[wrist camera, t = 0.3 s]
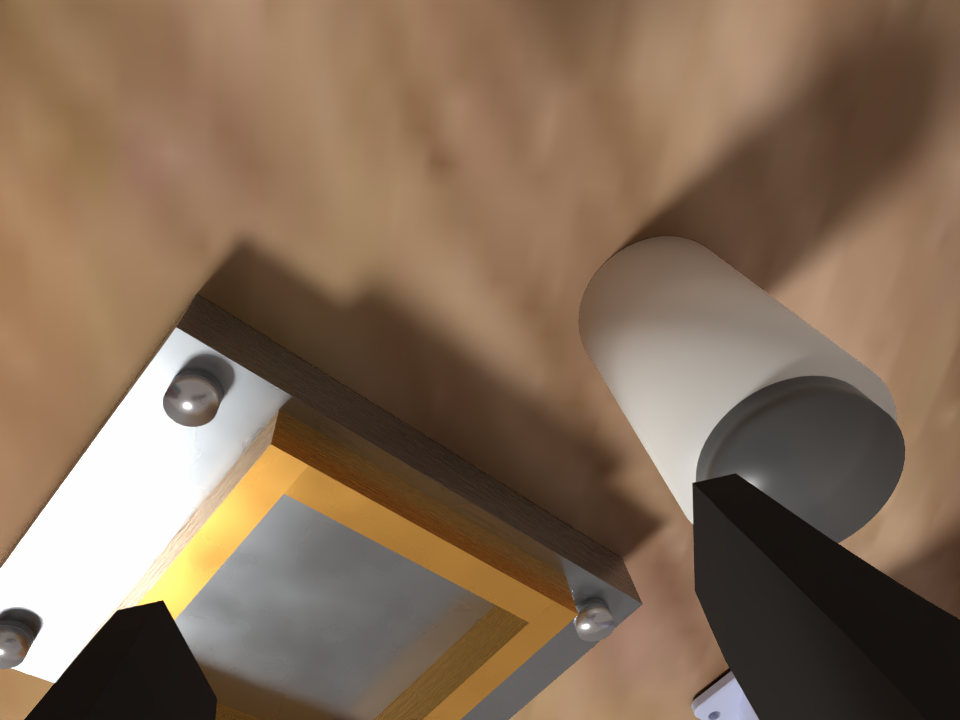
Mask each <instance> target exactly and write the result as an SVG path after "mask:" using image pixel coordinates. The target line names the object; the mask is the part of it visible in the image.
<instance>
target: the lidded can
mask: <svg viewBox="0 0 960 720" xmlns="http://www.w3.org/2000/svg"><path fill="white" fill-rule="evenodd" d="M578 322H579V332H580V337H581V340H582V343H583V346H584V348H585V350H586V351H587V353H588V355H589V356H590V358H591V360H592V361H593V363H594V365H595V366H596V368H597V370H598V371H599V373H600V375H601V376H602V378H603V380H604V381H605V383H606V385H607V386H608V388H609V390H610V391H611V393H612V394H613V396H614V398H615V399H616V401H617V403H618V404H619V406H620V408H621V409H622V411H623V413H624V414H625V416H626V418H627V419H628V421H629V423H630V424H631V426H632V428H633V429H634V431H635V433H636V434H637V436H638V437H639V439H640V441H641V442H642V444H643V446H644V447H645V449H646V451H647V452H648V454H649V456H650V457H651V459H652V461H653V462H654V464H655V466H656V467H657V469H658V471H659V472H660V474H661V476H662V477H663V479H664V480H665V482H666V484H667V485H668V487H669V489H670V490H671V492H672V494H673V495H674V497H675V499H676V500H677V502H678V504H679V505H680V507H681V509H682V510H683V512H684V514H685V515H686V517H687V518H688V519H689V520H690V522H691V523H692V524H693V490H692V483H694V482H699V481H703V480H708V479H712V478H717V477H721V476H726V475H730V474H735V473H736V474H738V475H739V476H741V477H742V478H743V479H745V480H746V481H748V482H749V483H751V484H752V485H754V486H755V487H757V488H758V489H759V490H761V491H762V492H764V493H765V494H767V495H768V496H770V497H771V498H772V499H774V500H775V501H777V502H778V503H780V504H781V505H782V506H784V507H785V508H787V509H788V510H790V511H791V512H793V513H794V514H795V515H797V516H798V517H800V518H801V519H803V520H804V521H806V522H807V523H808V524H810V525H811V526H813V527H814V528H816V529H817V530H819V531H820V532H822V533H823V534H825V535H826V536H827V537H829V538H830V539H832V540H833V541H835V542H836V543H839V542H841V541H843V540H844V539H846V538H847V537H849V536H851V535H852V534H854V533H855V532H856V531H858V530H859V529H860V528H862V527H863V526H864V525H865V524H866V523H868V522H869V521H870V520H871V519H872V518H873V517H874V516H875V515H876V514H877V513H878V512H879V511H880V510H881V508H882V507H883V506H884V504H885V503H886V502H887V501H888V499H889V498H890V496H891V494H892V493H893V491H894V490H895V487H896V485H897V483H898V481H899V479H900V476H901V473H902V470H903V465H904V460H905V445H904V439H903V436H902V433H901V430H900V428H899V426H898V425H897V417H896V409H895V404H894V401H893V398H892V395H891V393H890V392H889V390H888V388H887V386H886V385H885V384H884V382H883V381H882V380H881V379H880V378H879V377H878V376H877V375H876V374H875V373H874V372H872V371H871V370H870V369H869V368H867V367H866V366H865V365H863V364H862V363H861V362H859V361H858V360H857V359H855V358H854V357H853V356H851V355H850V354H849V353H847V352H846V351H844V350H843V349H842V348H840V347H839V346H838V345H836V344H835V343H834V342H832V341H831V340H830V339H828V338H827V337H826V336H824V335H823V334H822V333H820V332H819V331H818V330H816V329H815V328H814V327H812V326H811V325H810V324H808V323H807V322H806V321H804V320H803V319H802V318H800V317H799V316H797V315H796V314H795V313H793V312H792V311H791V310H789V309H788V308H787V307H785V306H784V305H783V304H781V303H780V302H779V301H777V300H776V299H775V298H773V297H772V296H771V295H769V294H768V293H767V292H765V291H764V290H763V289H761V288H760V287H759V286H757V285H756V284H755V283H753V282H752V281H751V280H749V279H748V278H746V277H745V276H744V275H742V274H741V273H740V272H738V271H737V270H736V269H734V268H733V267H732V266H730V265H729V264H728V263H726V262H725V261H724V260H722V259H721V258H720V257H718V256H717V255H716V254H714V253H713V252H712V251H710V250H709V249H708V248H706V247H705V246H703V245H701V244H699V243H698V242H695V241H693V240H690V239H686V238H682V237H675V236H660V237H654V238H648V239H645V240H642V241H639V242H636V243H634V244H632V245H629V246H627V247H626V248H624V249H622V250H621V251H619V252H618V253H616V254H615V255H614V256H612V257H611V258H610V259H609V260H608V261H607V262H606V263H604V264H603V265H602V266H601V268H600V269H599V270H598V271H597V272H596V274H595V275H594V276H593V278H592V280H591V281H590V283H589V284H588V286H587V288H586V291H585V293H584V295H583V298H582V301H581V305H580V310H579V321H578Z"/></svg>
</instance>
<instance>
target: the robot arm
mask: <svg viewBox="0 0 960 720" xmlns="http://www.w3.org/2000/svg"><path fill="white" fill-rule="evenodd" d="M692 490H693V532H694V573H695V592H696V594H697V596H698V599H699V601H700V603H701V606H702V608H703V610H704V613H705V615H706V618H707V620H708V622H709V625H710V627H711V629H712V632H713V634H714V636H715V638H716V640H717V643H718V645H719V647H720V649H721V652H722V654H723V656H724V658H725V661H726V662H727V664H728V666H729V668H730V669H731V671H730V672H729V673H728V674H726V675H725V676H724V677H723V678H721V679H720V680H719V681H718V682H716V683H715V684H714V685H712V686H711V687H710V688H709V689H707V690H706V691H705V692H704V693H702V694H701V695H700V696H698V697H697V698H696V699H695V700H694V701H693V702H692V705H691V707H692V710H693V712H694V715H695V716H696V717H697V718H699V719H701V720H960V620H959V619H958V618H956V617H954V616H953V615H951V614H949V613H947V612H946V611H944V610H942V609H941V608H939V607H937V606H935V605H934V604H932V603H930V602H929V601H927V600H925V599H924V598H922V597H920V596H919V595H917V594H915V593H914V592H912V591H911V590H909V589H907V588H906V587H904V586H903V585H901V584H899V583H898V582H896V581H895V580H893V579H892V578H890V577H888V576H887V575H885V574H884V573H882V572H881V571H879V570H878V569H876V568H875V567H873V566H871V565H870V564H868V563H867V562H865V561H864V560H862V559H861V558H859V557H858V556H856V555H854V554H853V553H851V552H850V551H848V550H847V549H845V548H844V547H842V546H841V545H839V544H838V543H836V542H835V541H833V540H832V539H830V538H829V537H827V536H826V535H825V534H823V533H822V532H820V531H819V530H817V529H816V528H814V527H813V526H811V525H810V524H808V523H807V522H806V521H804V520H803V519H801V518H800V517H798V516H797V515H795V514H794V513H793V512H791V511H790V510H788V509H787V508H785V507H784V506H782V505H781V504H780V503H778V502H777V501H775V500H774V499H772V498H771V497H770V496H768V495H767V494H765V493H764V492H762V491H761V490H759V489H758V488H757V487H755V486H754V485H752V484H751V483H749V482H748V481H746V480H745V479H743V478H742V477H741V476H739V475H738V474H736V473H735V474H730V475H726V476H721V477H717V478H712V479H708V480H703V481H699V482H694V483H692ZM216 708H217V697H216V695H215V694H214V692H213V690H212V688H211V686H210V685H209V683H208V681H207V679H206V677H205V675H204V674H203V672H202V670H201V668H200V666H199V664H198V663H197V661H196V659H195V657H194V655H193V654H192V652H191V650H190V648H189V646H188V644H187V643H186V641H185V639H184V637H183V635H182V634H181V632H180V630H179V628H178V626H177V624H176V623H175V621H174V619H173V617H172V615H171V613H170V612H169V610H168V608H167V606H166V604H165V603H164V601H163V600H161V601H157V602H152V603H148V604H143V605H139V606H134V607H129V608H125V609H120V610H117V611H116V612H115V613H114V614H113V615H112V617H111V618H110V619H109V620H108V621H107V622H106V623H105V624H104V625H103V627H102V628H101V629H100V630H99V631H98V632H97V634H96V635H95V636H94V637H93V638H92V639H91V641H90V642H89V643H88V644H87V645H86V646H85V648H84V649H83V650H82V651H81V652H80V654H79V655H78V656H77V657H76V658H75V660H74V661H73V662H72V663H71V664H70V666H69V667H68V668H67V669H66V670H65V672H64V673H63V674H62V675H61V676H60V678H59V679H58V680H57V681H56V682H55V684H54V685H53V686H52V687H51V688H50V690H49V691H48V692H47V693H46V694H45V696H44V697H43V698H42V699H41V700H40V702H39V703H38V704H37V705H36V706H35V708H34V709H33V710H32V711H31V712H30V714H29V715H28V716H27V717H26V718H25V719H24V720H215V719H216Z"/></svg>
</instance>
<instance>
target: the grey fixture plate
mask: <svg viewBox="0 0 960 720" xmlns="http://www.w3.org/2000/svg"><path fill="white" fill-rule="evenodd" d="M161 600H163V601H164V603H165V604H166V606H167V608H168V610H169V612H170V613H171V615H172V617H173V619H174V621H175V623H176V624H177V626H178V628H179V630H180V632H181V634H182V635H183V637H184V639H185V641H186V643H187V644H188V646H189V648H190V650H191V652H192V654H193V655H194V657H195V659H196V661H197V663H198V664H199V666H200V668H201V670H202V672H203V674H204V675H205V677H206V679H207V681H208V683H209V685H210V686H211V688H212V690H213V692H214V694H215V695H216V697H217V708H216V719H215V720H509V719H510V718H511V717H512V716H513V715H515V714H516V713H517V712H518V711H519V710H520V709H521V708H523V707H524V706H525V705H526V704H527V703H528V702H530V701H531V700H532V699H533V698H534V697H535V696H537V695H538V694H539V693H540V692H541V691H542V690H544V689H545V688H546V687H547V686H548V685H549V684H550V683H552V682H553V681H554V680H555V679H556V678H557V677H559V676H560V675H561V674H562V673H563V672H564V671H566V670H567V669H568V668H569V667H570V666H571V665H573V664H574V663H575V662H576V661H577V660H578V659H579V658H581V657H582V656H583V655H584V654H585V653H586V652H588V651H589V650H590V649H591V648H592V647H593V646H595V645H596V644H597V643H598V642H599V641H600V640H602V639H604V638H606V637H607V636H609V635H610V634H611V633H612V631H613V630H614V628H615V627H617V626H618V625H619V624H620V623H621V622H622V621H624V620H625V619H626V618H627V617H628V616H629V615H631V614H632V613H633V612H634V611H635V610H636V609H638V608H639V607H640V606H641V605H642V602H641V600H640V597H639V595H638V593H637V591H636V588H635V586H634V584H633V582H632V579H631V577H630V575H629V573H628V570H627V568H626V566H625V564H624V561H623V559H622V558H620V557H618V556H617V555H615V554H614V553H612V552H610V551H609V550H607V549H606V548H604V547H602V546H601V545H599V544H597V543H596V542H594V541H593V540H591V539H589V538H588V537H586V536H585V535H583V534H581V533H580V532H578V531H577V530H575V529H573V528H572V527H570V526H569V525H567V524H565V523H564V522H562V521H561V520H559V519H557V518H556V517H554V516H553V515H551V514H549V513H548V512H546V511H544V510H543V509H541V508H540V507H538V506H536V505H535V504H533V503H532V502H530V501H528V500H527V499H525V498H524V497H522V496H520V495H519V494H517V493H516V492H514V491H512V490H511V489H509V488H508V487H506V486H504V485H503V484H501V483H500V482H498V481H496V480H495V479H493V478H491V477H490V476H488V475H487V474H485V473H483V472H482V471H480V470H479V469H477V468H475V467H474V466H472V465H471V464H469V463H467V462H466V461H464V460H463V459H461V458H459V457H458V456H456V455H455V454H453V453H451V452H450V451H448V450H446V449H445V448H443V447H442V446H440V445H438V444H437V443H435V442H434V441H432V440H430V439H429V438H427V437H426V436H424V435H422V434H421V433H419V432H418V431H416V430H414V429H413V428H411V427H410V426H408V425H406V424H405V423H403V422H402V421H400V420H398V419H397V418H395V417H393V416H392V415H390V414H389V413H387V412H385V411H384V410H382V409H381V408H379V407H377V406H376V405H374V404H373V403H371V402H369V401H368V400H366V399H365V398H363V397H361V396H360V395H358V394H357V393H355V392H353V391H352V390H350V389H348V388H347V387H345V386H344V385H342V384H340V383H339V382H337V381H336V380H334V379H332V378H331V377H329V376H328V375H326V374H324V373H323V372H321V371H320V370H318V369H316V368H315V367H313V366H312V365H310V364H308V363H307V362H305V361H304V360H302V359H300V358H299V357H297V356H295V355H294V354H292V353H291V352H289V351H287V350H286V349H284V348H283V347H281V346H279V345H278V344H276V343H275V342H273V341H271V340H270V339H268V338H267V337H265V336H263V335H262V334H260V333H259V332H257V331H255V330H254V329H252V328H251V327H249V326H247V325H246V324H244V323H242V322H241V321H239V320H238V319H236V318H234V317H233V316H231V315H230V314H228V313H226V312H225V311H223V310H222V309H220V308H218V307H217V306H215V305H214V304H212V303H210V302H209V301H207V300H206V299H204V298H202V297H201V296H199V295H197V294H196V295H195V297H194V298H193V299H192V301H191V302H190V304H189V305H188V306H187V308H186V309H185V310H184V312H183V313H182V315H181V316H180V317H179V319H178V320H177V322H176V323H175V324H174V326H173V327H172V328H171V330H170V331H169V333H168V334H167V335H166V337H165V338H164V340H163V341H162V342H161V344H160V345H159V346H158V348H157V349H156V351H155V352H154V353H153V355H152V356H151V357H150V359H149V360H148V362H147V363H146V364H145V366H144V367H143V369H142V370H141V371H140V373H139V374H138V375H137V377H136V378H135V380H134V381H133V382H132V384H131V385H130V387H129V388H128V389H127V391H126V392H125V393H124V395H123V396H122V398H121V399H120V400H119V402H118V403H117V404H116V406H115V407H114V409H113V410H112V411H111V413H110V414H109V416H108V417H107V418H106V420H105V421H104V422H103V424H102V425H101V427H100V428H99V429H98V431H97V432H96V434H95V435H94V436H93V438H92V439H91V440H90V442H89V443H88V445H87V446H86V447H85V449H84V450H83V451H82V453H81V454H80V456H79V457H78V458H77V460H76V461H75V463H74V464H73V465H72V467H71V468H70V469H69V471H68V472H67V474H66V475H65V476H64V478H63V479H62V481H61V482H60V483H59V485H58V486H57V487H56V489H55V490H54V492H53V493H52V494H51V496H50V497H49V498H48V500H47V501H46V503H45V504H44V505H43V507H42V508H41V510H40V511H39V512H38V514H37V515H36V516H35V518H34V519H33V521H32V522H31V523H30V525H29V526H28V527H27V529H26V530H25V532H24V533H23V534H22V536H21V537H20V539H19V540H18V541H17V543H16V544H15V545H14V547H13V548H12V550H11V551H10V552H9V554H8V555H7V557H6V558H5V559H4V561H3V562H2V563H1V565H0V669H8V668H13V669H16V670H18V671H21V672H24V673H27V674H30V675H33V676H36V677H39V678H41V679H44V680H47V681H50V682H53V683H55V682H56V681H57V680H58V679H59V678H60V676H61V675H62V674H63V673H64V672H65V670H66V669H67V668H68V667H69V666H70V664H71V663H72V662H73V661H74V660H75V658H76V657H77V656H78V655H79V654H80V652H81V651H82V650H83V649H84V648H85V646H86V645H87V644H88V643H89V642H90V641H91V639H92V638H93V637H94V636H95V635H96V634H97V632H98V631H99V630H100V629H101V628H102V627H103V625H104V624H105V623H106V622H107V621H108V620H109V619H110V618H111V617H112V615H113V614H114V613H115V612H116V611H117V610H120V609H125V608H129V607H134V606H139V605H143V604H148V603H152V602H157V601H161Z"/></svg>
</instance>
